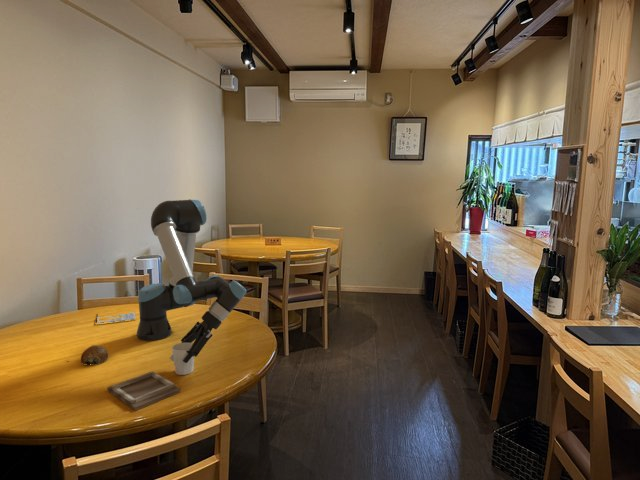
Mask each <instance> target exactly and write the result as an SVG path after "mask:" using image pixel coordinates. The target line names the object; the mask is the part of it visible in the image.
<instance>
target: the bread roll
mask: <svg viewBox="0 0 640 480" xmlns="http://www.w3.org/2000/svg"><path fill="white" fill-rule="evenodd" d="M109 355H110V354H109V351H108V350H107V349H106V348H105V347H104V346H103V345H98V344H97V345H91V346H89V347H88V348H86V349H85V350H84V351H83V352H82V354H81V357H80V363H81V364H82V363H83V364H87V365H90V364H97V365H100V364H102V363H101V362H103V363H104V361H105V362H106V361H108V360H109V357H110V356H109ZM99 363H100V364H99ZM83 364H82V365H83ZM87 365H86V366H87Z"/></svg>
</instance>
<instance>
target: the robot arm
mask: <svg viewBox="0 0 640 480" xmlns="http://www.w3.org/2000/svg"><path fill="white" fill-rule="evenodd" d="M153 209H154V210H153V211H152V213H151V216H150V227H151V230H152V232H153V233H152V234H153V235H154V236H155V237H157V239H158V241H159V244H160V246H161V249H162V251H163V254H164V257H165V259H166V261H167V264H168V267H169V270H170V273H171V275H172V277H170V279H169V282H168V285H165V284H164V283H163V282H162V283H160V282H159V283H152V284H151V283H150V284H148V285H145V286H143V287H142V288H140V289H139V291H138V298H137V300H138V306H139V307H138V308H139V309H138V310H139V323H138V327H137V331H136V337H137V339H138V340H140V341H145V342H146V341H147V342H150V341H157V340H162V339H166V338H167V337H169V336H171V335H172V327H171V323H170V322H169V319H168V317H167V315H168V314H167V311H172V310H173V311H174V310H177V309H182V308H187V307H189V306H190V307H191V306H193V305H195V304H196V303H197V302H198V301H199V302H200V301H204V300H209V299H215V298H216V299H215V300H214V302H213V303H212V304H211V305H210V306H209V307H208V310H207V311H205V313H204V314H203V315H202V316H201V320H202V322H199V321H197V322H196V323H195V325H194V326H192V328H191V329H190V330H189V331H188V332H187V333H186V334H185V335H184V336H183V337H182V339H180V341H181V342H180V343H186V342H187V343H192V344H193V345H192V346H191V348H190V350H189V351H186V353H185V354H184V356H183V357H182V358H181V359H180V360H179V362H178V363H177V364H176V365H175V366H174V368H175V367H176V368H177V369H179V370H180V371H181V370H182V369H183V367H184V366H185V365H186V364H187V362H188V361H189V360H190V359H191V358H192V356H194V358H196V357H197V356H198V355H199V354H200V352H201V351H202V350H203V348H204V347H205V346H206V344H207V343H208V341H209V340H210V339H211V338H212V337H213V334H212V333H211V331H212V330H213V329H214V330H218V328H219V327H220V326H221V324H222V321H223V322H224V321H225V320H226V319H227V318H228V317H229V315H230V313H231V312H232V311H233V310H234V309H235V307H237V305H238V304H239V302H241V301H242V300H243V298H244V296H246V294H247V289H246V288H245V287H244V286H243V285H242V284H240V283H239V282H238V281H237V280H233V279H232V281H230V282H228V281H227V280H225V279H224V278H223V277H220V276H219V275H217V274H212V275H210V276H209V277H207V278H206V279H205V280H201V281H196V278H195V276H194V272H193V270H194V262H195V261H194V259H195V249H196V248H195V247H196V239H197V234H198V233H199V232H200V231H201V226H204V225H205V224H206V223H207V211H206V208H205V206H204V204H203V203H202V202H201V200H199V199H191V198H190V199H179V200H178V199H177V200H165V201H162V202H160V203H159V204H158V205H156V206H155V208H153ZM169 359H170V361H172V362H174V359H173V353H172V354H171V355H170V357H169Z"/></svg>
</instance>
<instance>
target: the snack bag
mask: <svg viewBox="0 0 640 480" xmlns="http://www.w3.org/2000/svg"><path fill="white" fill-rule="evenodd" d="M117 316H119V317H122V318H117V319H110V320H108V321H99V318H100V317H97V316H96V318H97V320H98V321H97V323H104V322H115V321H125V320H134V319H136V312H135V311H134V312H133V313H128V314H122V315H116V316H104V317H117ZM123 317H125V318H123ZM101 318H102V317H101ZM134 321H135V320H134Z"/></svg>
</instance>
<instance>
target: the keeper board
mask: <svg viewBox="0 0 640 480" xmlns="http://www.w3.org/2000/svg"><path fill="white" fill-rule="evenodd" d="M106 389H107V392H108V393H110V394H111V393H112V396H114V395H115V396H114V397H115V398H117V399H118V398H119V399H118V400H120V401H121V400H122V401H123V402H122V401H121V402H122V403H124V404H125V403H126V404H125V405H127V406H128V407H129V406H130V407H129V408H131V409H133V410H134V411H138V410H141V409H143V407H144V408H146V407H148V406H150V405H153V404H155V403H158V402H159V401H162V400H164V399H167V398H170V397H172V396H174V395H176V394H179V393H180V392H181V388H179V387H177V386H176V384H175V383H174V382H172V381H171V380H169V379H167V378H165V377H164V376H162V375H160V374H158V373H157V372H154V371H153V370H152V371H148V372H147V373H144V374H141V375H138V376H136V377H135V376H134V377H133V378H130V379H127V380H124V381H121V382H119V383H117V384H114V385H111V386H107V388H106Z"/></svg>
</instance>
